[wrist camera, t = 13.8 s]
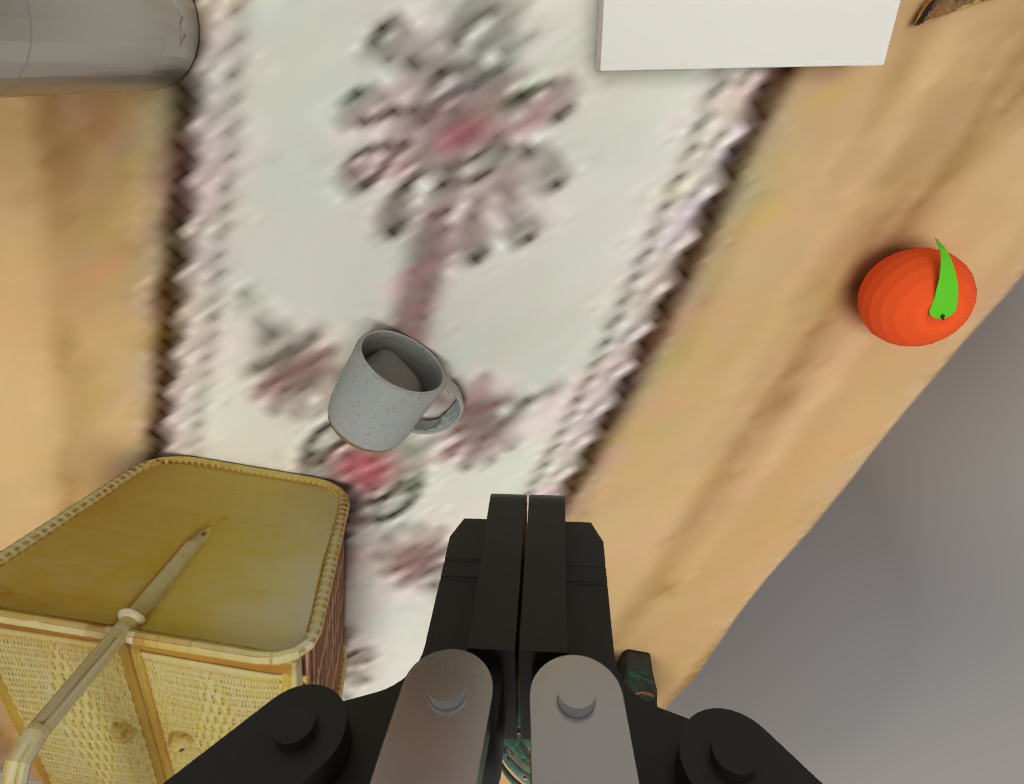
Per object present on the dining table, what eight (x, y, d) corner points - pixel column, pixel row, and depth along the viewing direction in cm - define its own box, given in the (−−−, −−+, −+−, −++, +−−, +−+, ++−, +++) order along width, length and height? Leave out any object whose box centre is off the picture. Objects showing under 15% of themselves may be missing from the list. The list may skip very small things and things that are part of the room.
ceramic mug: (337, 387, 52) (306, 435, 45) (374, 315, 48) (346, 357, 41) (441, 439, 54) (426, 493, 47) (483, 375, 50) (474, 424, 44)
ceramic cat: (667, 649, 66) (705, 856, 49) (649, 682, 70) (680, 887, 52) (499, 617, 66) (478, 815, 48) (489, 652, 69) (467, 850, 51)
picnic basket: (374, 655, 71) (267, 997, 45) (166, 621, 70) (-64, 947, 44) (385, 470, 56) (235, 819, 30) (122, 425, 56) (-260, 741, 30)
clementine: (848, 228, 42) (899, 256, 36) (951, 215, 41) (1022, 241, 35) (835, 328, 46) (879, 369, 40) (929, 318, 45) (989, 358, 39)
